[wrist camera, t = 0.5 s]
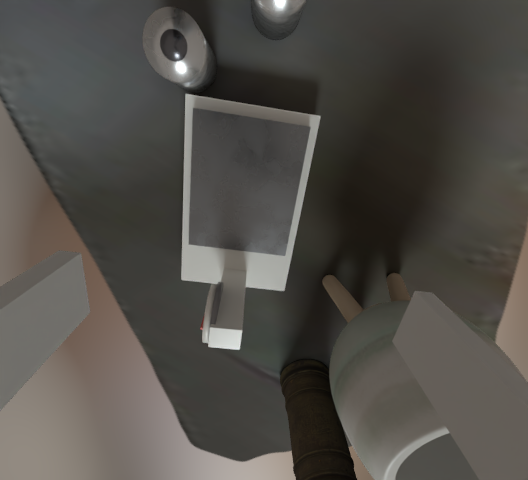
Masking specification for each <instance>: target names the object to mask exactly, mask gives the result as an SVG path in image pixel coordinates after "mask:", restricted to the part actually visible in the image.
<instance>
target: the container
mask: <svg viewBox="0 0 528 480" xmlns="http://www.w3.org/2000/svg"><path fill="white" fill-rule="evenodd" d="M280 383H281V387H282V393H283V395H284V397H285V402H286V404H285V407H286V411H287V414H288V420H289V429H290V438H291V447H292V456H293V463H294V467H293V469H294V470H293V471H294V474H295V476H296V480H357V478H356V475H355V472H354V463H353V460H352V458H351V455H350V451H349V448H348V444H347V441H346V437H345V434H344V431H343V427H342V424H341V421H340V419H339V416H338V413H337V410H336V408H335V404H334V401H333V397H332V392H331V387H330V378H329V369H328V368H327V367H326V366H325V365H324V364H323V363H321V362H319V361H316V360H310V359H305V360H299V361H296V362H293V363H291V364H290V365H288V366H287V367H286V368H285V369H284V370H283V371H282V373H281V377H280Z"/></svg>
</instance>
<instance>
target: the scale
mask: <svg viewBox="0 0 528 480" xmlns="http://www.w3.org/2000/svg"><path fill="white" fill-rule="evenodd" d="M193 108H197V109H204V110H210V111H216V112H222V113H228V114H235V115H241V116H247V117H253V118H259V119H266V120H272V121H278V122H284V123H290V124H297V125H303V126H309V127H311V128H310V133H309V138H308V143H307V148H306V153H305V159H304V164H303V169H302V174H301V179H300V184H299V189H298V194H297V199H296V204H295V209H294V214H293V219H292V224H291V229H290V234H289V239H288V245H287V250H286V255H285V256H280V255H272V254H264V253H255V252H247V251H239V250H230V249H222V248H213V247H205V246H197V245H188V244H189V213H190V183H191V152H192V121H193ZM320 117H321V116H317V115H311V114H305V113H299V112H293V111H287V110H281V109H275V108H269V107H263V106H257V105H251V104H245V103H239V102H233V101H227V100H221V99H214V98H208V97H202V96H196V95H190V94H186V96H185V141H184V186H183V231H182V275H181V280H187V281H196V282H205V283H214V284H211V287H210V290H209V294H208V298H207V303H206V309H205V314H204V317H203V321H202V324H201V328H200V330H203V334H202V341H203V343H209V344H208V347H215V348H226V349H237V350H240V343H241V336H242V327H243V314H244V301H245V288H246V287H251V288H260V289H269V290H279V291H284V290H285V285H286V280H287V276H288V271H289V266H290V261H291V256H292V252H293V247H294V242H295V237H296V232H297V228H298V223H299V218H300V213H301V208H302V204H303V199H304V194H305V189H306V184H307V180H308V175H309V170H310V165H311V160H312V156H313V151H314V146H315V141H316V136H317V132H318V127H319V122H320Z"/></svg>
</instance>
